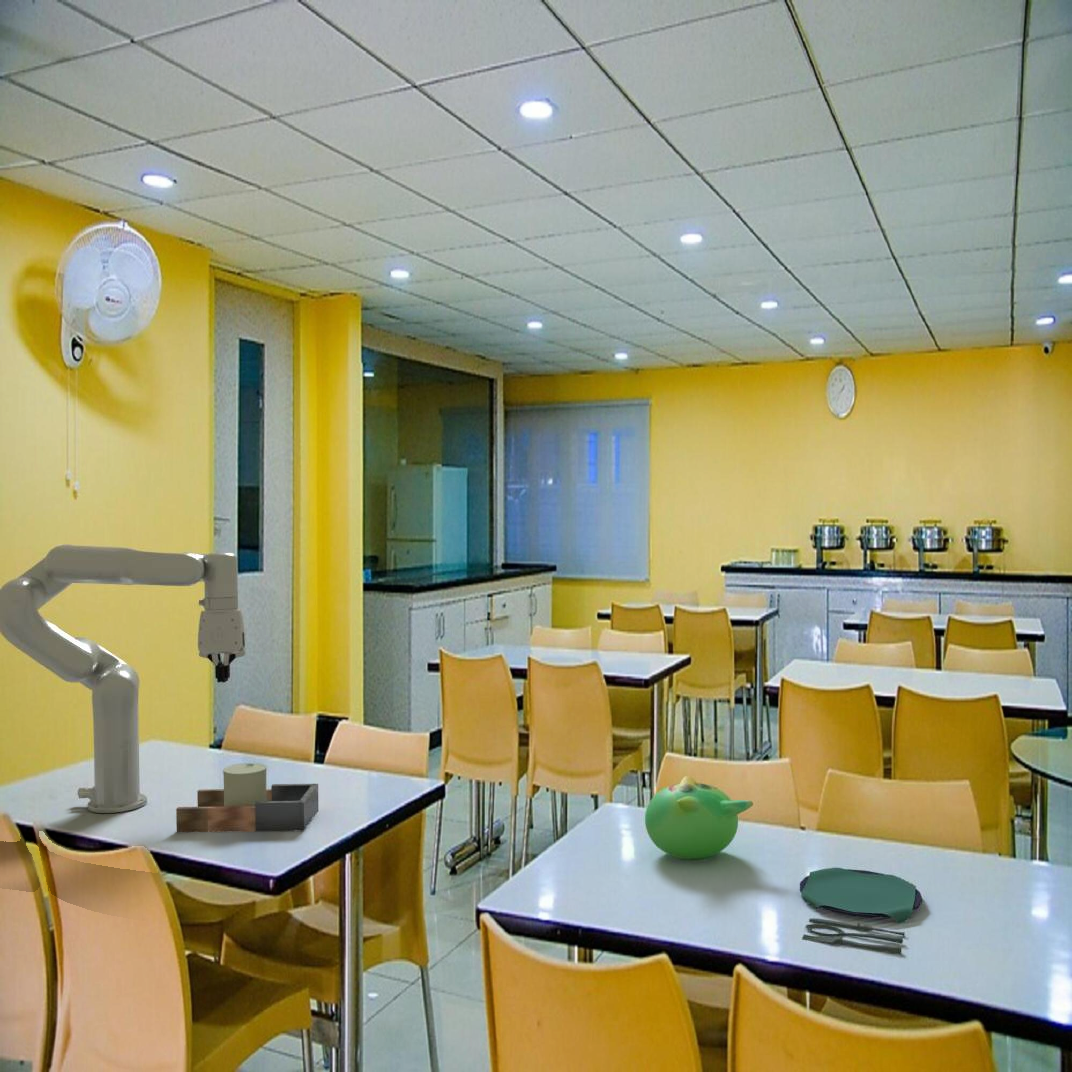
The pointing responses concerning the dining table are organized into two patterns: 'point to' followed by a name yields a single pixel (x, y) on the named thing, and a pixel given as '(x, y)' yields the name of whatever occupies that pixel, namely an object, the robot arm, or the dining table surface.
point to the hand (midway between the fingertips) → (222, 681)
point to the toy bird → (693, 819)
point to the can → (244, 784)
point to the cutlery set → (859, 903)
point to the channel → (216, 814)
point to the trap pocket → (287, 808)
